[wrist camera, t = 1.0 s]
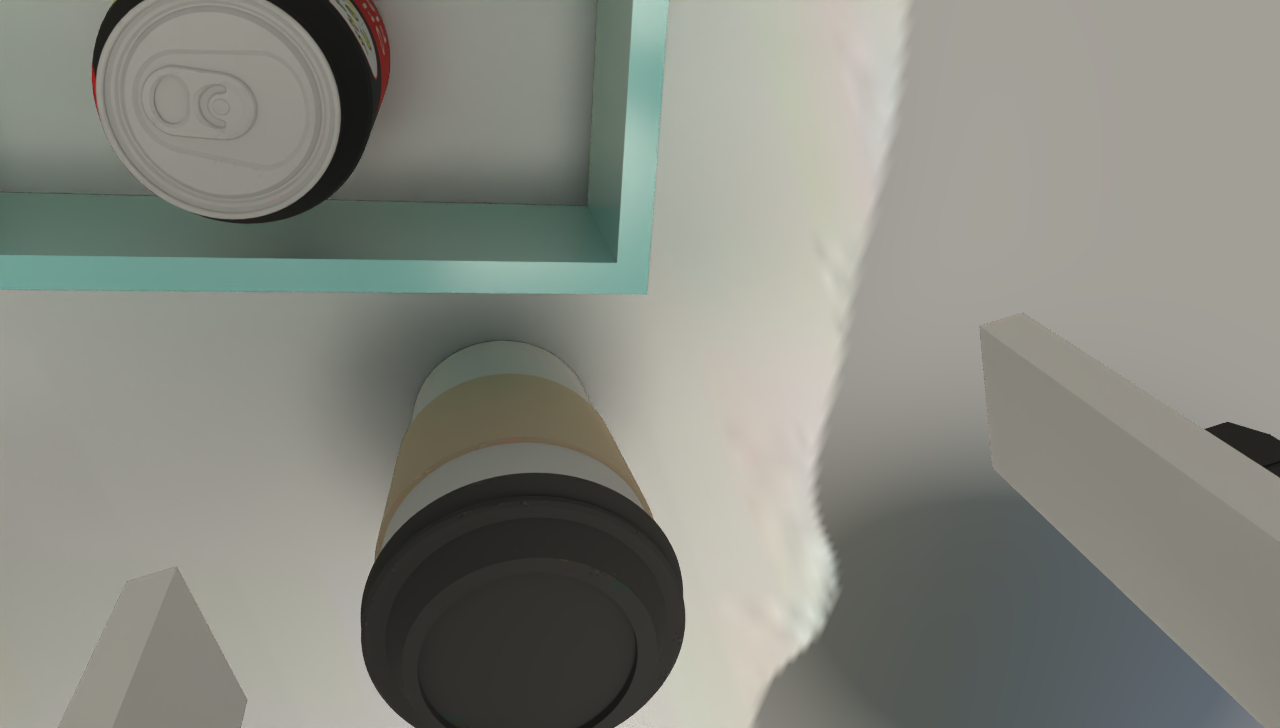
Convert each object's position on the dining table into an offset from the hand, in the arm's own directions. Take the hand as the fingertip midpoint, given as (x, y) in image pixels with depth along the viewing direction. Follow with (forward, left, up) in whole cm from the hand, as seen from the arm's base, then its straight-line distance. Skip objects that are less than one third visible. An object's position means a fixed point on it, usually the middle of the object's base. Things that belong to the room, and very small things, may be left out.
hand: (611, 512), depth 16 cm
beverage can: (-7, +4, -23) cm, 24 cm away
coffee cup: (0, -9, -23) cm, 24 cm away
